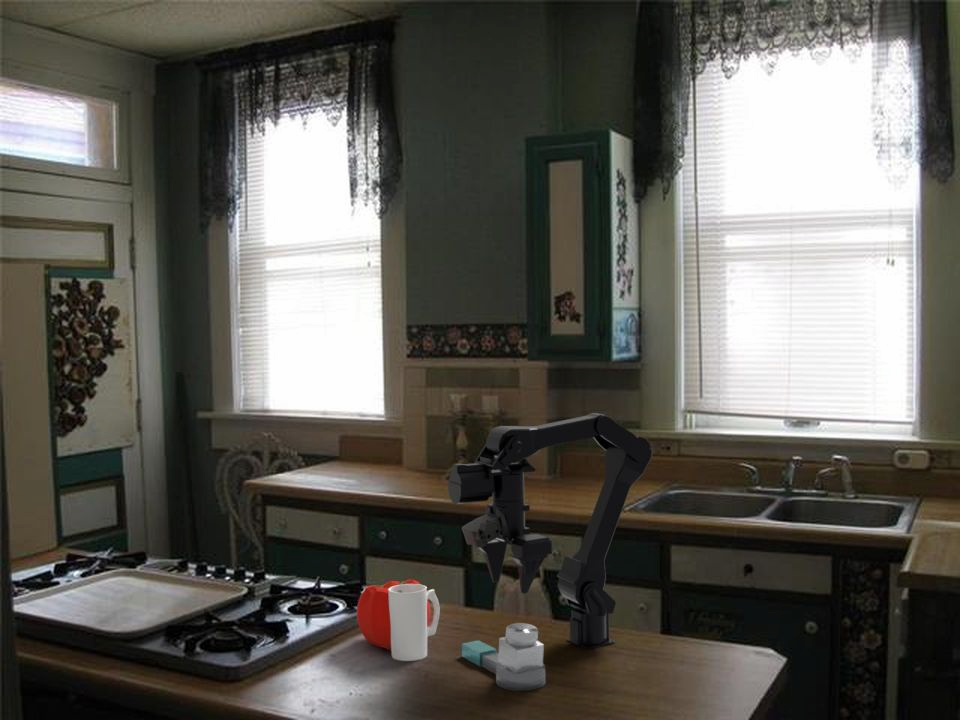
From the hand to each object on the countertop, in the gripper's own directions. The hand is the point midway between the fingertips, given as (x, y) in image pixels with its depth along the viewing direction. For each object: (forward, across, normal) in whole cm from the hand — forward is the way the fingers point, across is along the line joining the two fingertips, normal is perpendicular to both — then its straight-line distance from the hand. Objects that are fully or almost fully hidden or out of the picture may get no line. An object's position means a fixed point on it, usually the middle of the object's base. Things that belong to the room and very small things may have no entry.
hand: (509, 587), depth 177 cm
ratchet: (+12, +12, -6) cm, 18 cm away
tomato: (+12, -16, -14) cm, 25 cm away
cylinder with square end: (+9, +12, -6) cm, 16 cm away
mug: (+12, -10, -14) cm, 21 cm away
